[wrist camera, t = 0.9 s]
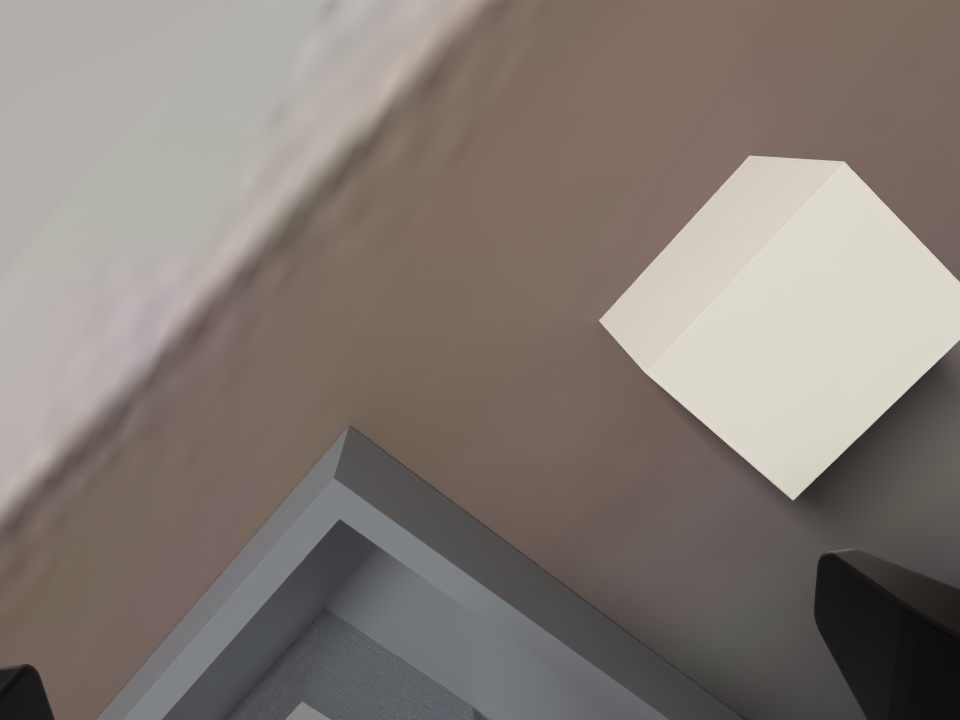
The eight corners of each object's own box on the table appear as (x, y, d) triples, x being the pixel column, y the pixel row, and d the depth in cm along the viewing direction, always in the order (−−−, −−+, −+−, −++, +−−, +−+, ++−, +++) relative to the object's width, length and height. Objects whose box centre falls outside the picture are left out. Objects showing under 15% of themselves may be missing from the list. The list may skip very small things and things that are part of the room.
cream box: (865, 273, 22) (988, 312, 17) (717, 423, 23) (792, 500, 18) (748, 155, 20) (844, 161, 16) (598, 319, 21) (645, 372, 17)
